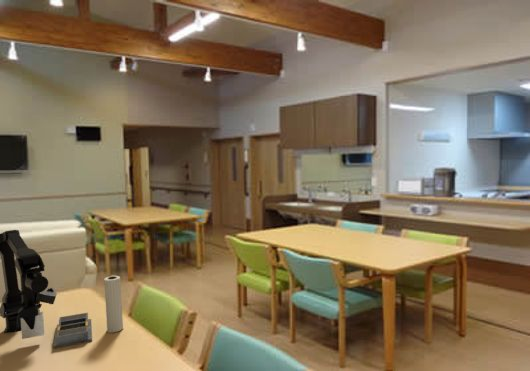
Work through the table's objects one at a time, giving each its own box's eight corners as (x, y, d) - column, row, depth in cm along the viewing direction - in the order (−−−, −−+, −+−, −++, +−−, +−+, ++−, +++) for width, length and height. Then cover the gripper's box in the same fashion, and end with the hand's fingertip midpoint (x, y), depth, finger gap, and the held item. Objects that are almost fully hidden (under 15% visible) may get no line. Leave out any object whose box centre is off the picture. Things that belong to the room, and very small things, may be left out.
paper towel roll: (117, 333, 160) (114, 280, 158) (104, 332, 161) (100, 279, 159) (127, 325, 167) (124, 274, 165) (114, 324, 168) (111, 274, 166)
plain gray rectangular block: (23, 335, 152) (21, 315, 152) (44, 332, 155) (42, 311, 154) (22, 339, 150) (20, 317, 149) (43, 335, 152) (42, 314, 152)
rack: (57, 327, 167) (56, 317, 167) (91, 321, 172) (90, 311, 172) (53, 348, 148) (52, 337, 148) (92, 341, 153) (91, 330, 153)
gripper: (52, 290, 146) (55, 333, 147) (56, 277, 163) (58, 314, 164) (16, 295, 141) (19, 339, 142) (23, 281, 158) (26, 320, 159)
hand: (32, 327), depth 152 cm, fingers closed on plain gray rectangular block, 3 cm apart
